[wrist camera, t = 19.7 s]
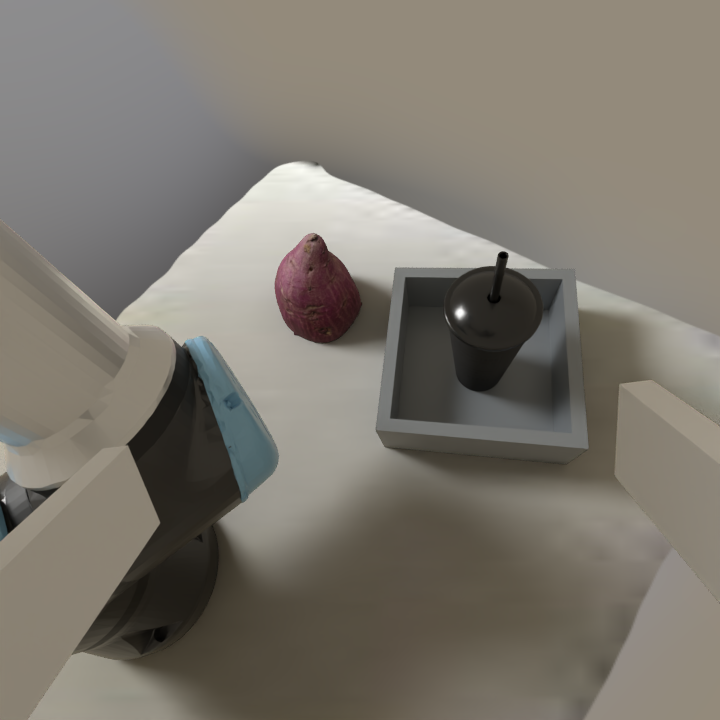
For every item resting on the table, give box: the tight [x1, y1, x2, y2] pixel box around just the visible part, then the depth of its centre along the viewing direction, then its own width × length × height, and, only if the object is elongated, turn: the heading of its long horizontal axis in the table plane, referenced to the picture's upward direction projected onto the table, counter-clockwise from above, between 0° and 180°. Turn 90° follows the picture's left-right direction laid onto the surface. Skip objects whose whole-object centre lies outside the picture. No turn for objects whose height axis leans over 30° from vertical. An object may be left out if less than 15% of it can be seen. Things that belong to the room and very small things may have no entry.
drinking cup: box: [443, 252, 543, 391], centre depth 37 cm, size 8×8×20 cm
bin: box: [376, 268, 589, 464], centre depth 44 cm, size 18×18×7 cm
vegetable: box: [275, 233, 362, 343], centre depth 49 cm, size 10×10×15 cm
